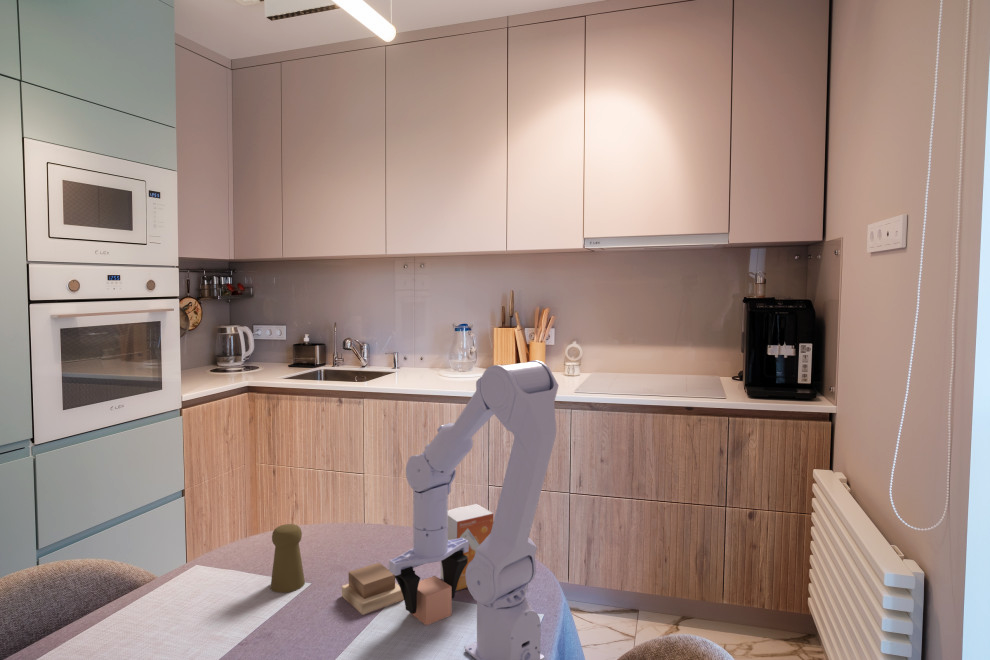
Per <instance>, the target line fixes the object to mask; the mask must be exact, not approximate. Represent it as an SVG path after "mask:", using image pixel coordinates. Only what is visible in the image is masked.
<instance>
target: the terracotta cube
mask: <svg viewBox="0 0 990 660" xmlns="http://www.w3.org/2000/svg"><path fill="white" fill-rule="evenodd" d="M452 605H453V603H452V587H451V586H450V585H448V584H447V583H445V582H444V581H443V579H441V578H440V577H438V576H436V575H433V576H431V577H427V578H425V579H420V581H419V585H418V590H417V609H416V613H414V614H411V615H412V616H414V617H415V618H417V620H419V621H420V622H421V623H422V624H423V625H425V626H429V625H431V624H433V623H436V622H438V621H440V620H443V619H446V618H448V617H450V616H452Z"/></svg>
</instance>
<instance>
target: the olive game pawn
mask: <svg viewBox="0 0 990 660" xmlns="http://www.w3.org/2000/svg"><path fill="white" fill-rule="evenodd" d="M271 534H272V535H271V541H272V544H273V545H274V555H273V564H272V572H271V580H270V588H269V589H270V591H272V592H274V593H279V594H286V593H293V592H296V591H298V590H300V589H301V588H303V587H304V585H305V584H306V582H305V581H306V580H305V575H304V569H303V561H302V556H301V549H300V542H301V541H302V534H303V532H302V529H301V528H300V526H299V525H297V524H292V523H286V524H281V525H279V526H276V528H274V529H273V531H272V533H271Z"/></svg>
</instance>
